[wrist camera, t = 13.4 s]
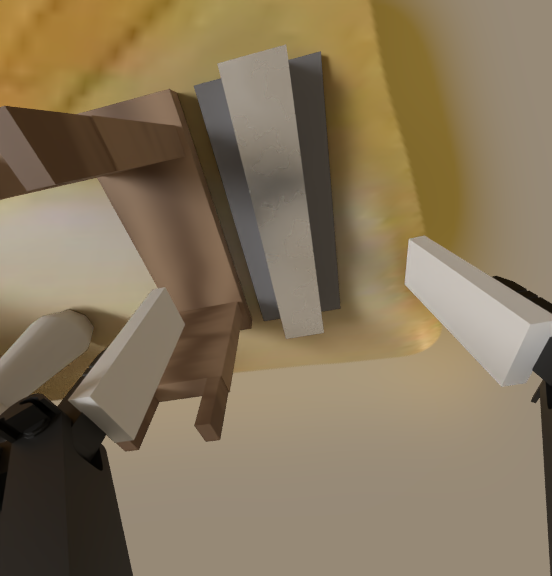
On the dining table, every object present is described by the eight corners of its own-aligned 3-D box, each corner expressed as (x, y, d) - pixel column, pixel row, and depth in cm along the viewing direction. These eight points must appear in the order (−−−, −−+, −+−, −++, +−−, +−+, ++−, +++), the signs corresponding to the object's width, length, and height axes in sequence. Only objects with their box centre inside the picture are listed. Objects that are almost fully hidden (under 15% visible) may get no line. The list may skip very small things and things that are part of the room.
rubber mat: (264, 318, 29) (264, 321, 28) (196, 87, 18) (193, 85, 17) (339, 305, 28) (340, 308, 28) (319, 53, 17) (320, 51, 16)
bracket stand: (189, 330, 30) (132, 465, 18) (78, 119, 18) (-311, 82, 6) (252, 319, 29) (237, 453, 17) (176, 92, 18) (-43, -11, 5)
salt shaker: (109, 323, 29) (10, 435, 18) (89, 347, 31) (-10, 462, 20) (58, 295, 27) (-91, 404, 16) (41, 323, 29) (-101, 437, 18)
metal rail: (284, 317, 28) (285, 338, 25) (227, 76, 17) (217, 63, 14) (318, 312, 28) (323, 332, 25) (283, 61, 16) (286, 44, 13)
